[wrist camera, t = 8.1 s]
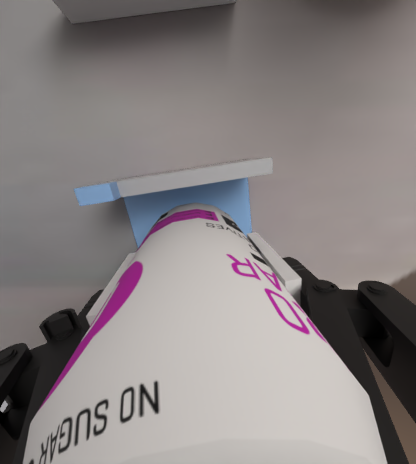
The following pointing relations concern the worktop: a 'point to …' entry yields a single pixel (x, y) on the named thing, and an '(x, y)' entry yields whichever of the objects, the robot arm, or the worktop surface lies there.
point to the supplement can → (203, 365)
